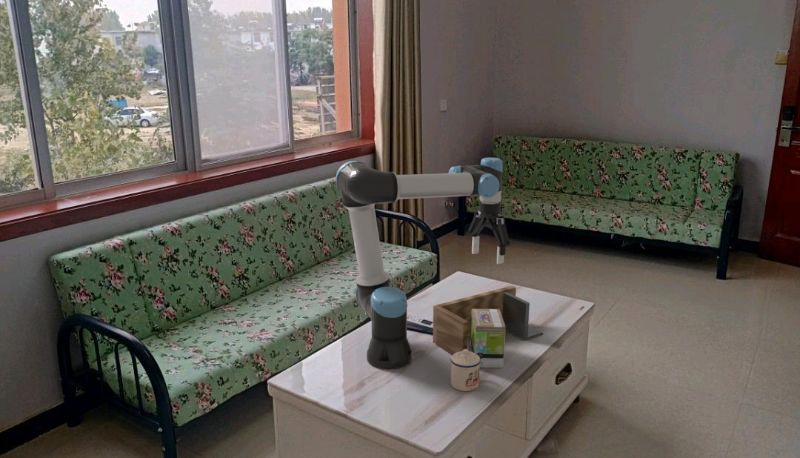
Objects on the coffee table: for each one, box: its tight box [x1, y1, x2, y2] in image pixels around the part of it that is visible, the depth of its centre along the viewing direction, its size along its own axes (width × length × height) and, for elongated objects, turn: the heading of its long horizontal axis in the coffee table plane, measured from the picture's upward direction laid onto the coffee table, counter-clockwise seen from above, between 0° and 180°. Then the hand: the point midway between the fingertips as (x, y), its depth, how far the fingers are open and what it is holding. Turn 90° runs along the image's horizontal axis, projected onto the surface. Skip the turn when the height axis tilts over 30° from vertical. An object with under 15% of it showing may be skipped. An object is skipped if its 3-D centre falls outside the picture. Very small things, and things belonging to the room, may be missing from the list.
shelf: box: [432, 285, 517, 356], centre depth 223 cm, size 36×17×14 cm, turn 122°
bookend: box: [502, 292, 544, 341], centre depth 229 cm, size 9×12×14 cm
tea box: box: [469, 309, 506, 369], centre depth 210 cm, size 15×10×15 cm
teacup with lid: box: [450, 348, 481, 392], centre depth 195 cm, size 12×9×12 cm
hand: (487, 258), depth 231 cm, fingers open, 13 cm apart
